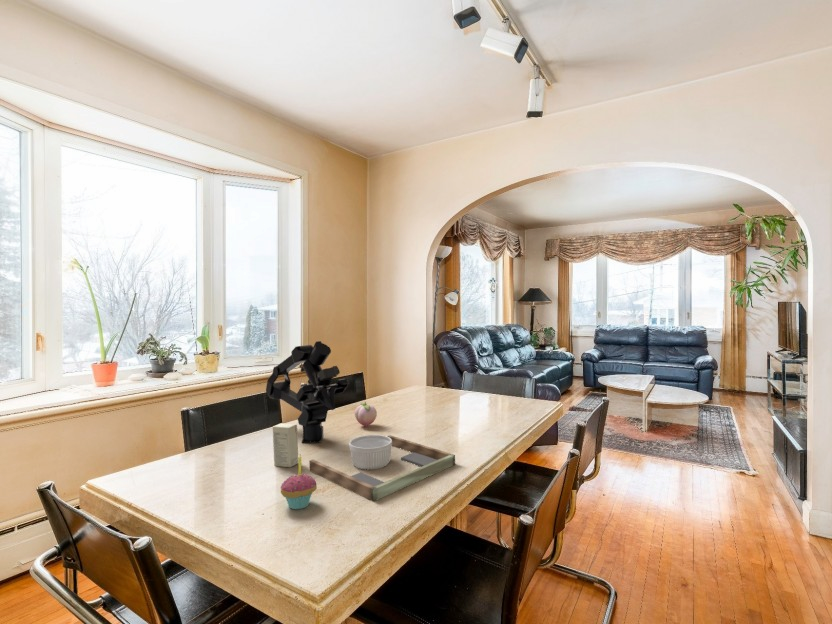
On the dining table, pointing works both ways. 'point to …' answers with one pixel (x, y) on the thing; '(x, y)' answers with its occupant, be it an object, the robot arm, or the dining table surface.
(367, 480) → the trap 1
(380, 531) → the dining table surface
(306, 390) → the robot arm
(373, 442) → the ramekin
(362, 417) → the decorative fruit
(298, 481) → the cupcake
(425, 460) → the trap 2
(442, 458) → the wooden u-shaped frame
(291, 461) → the skincare box
